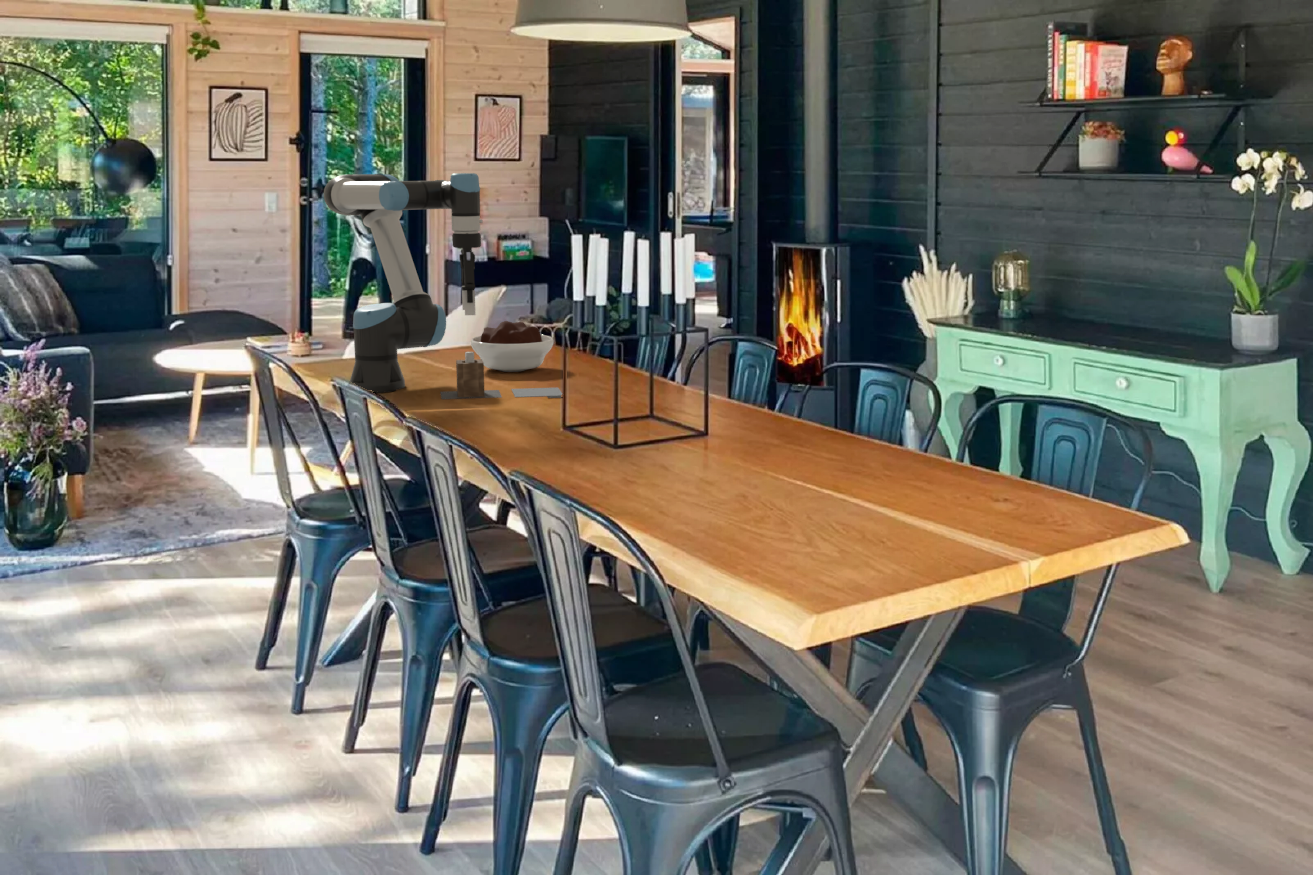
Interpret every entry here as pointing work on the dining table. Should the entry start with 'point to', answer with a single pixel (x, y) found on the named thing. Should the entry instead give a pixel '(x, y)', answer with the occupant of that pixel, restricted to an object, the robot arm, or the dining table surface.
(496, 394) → the post stand
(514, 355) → the white ceramic bowl
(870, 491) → the dining table surface
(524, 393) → the slate mat
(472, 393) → the walnut collar
